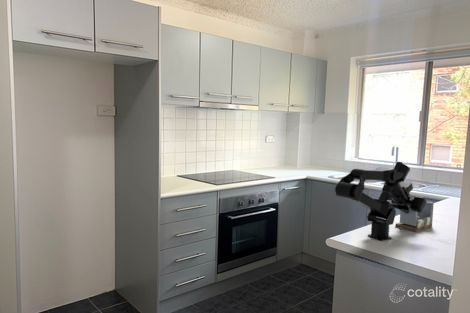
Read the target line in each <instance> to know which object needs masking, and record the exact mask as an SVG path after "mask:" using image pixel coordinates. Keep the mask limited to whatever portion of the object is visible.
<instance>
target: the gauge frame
mask: <svg viewBox="0 0 470 313" xmlns="http://www.w3.org/2000/svg"><path fill="white" fill-rule="evenodd" d="M432 227H433V223H432V224H430V217H427V218H424V220H422V219H420V220H418V225H417V226H412V225H408V224H404V223H400V221H399V222H396V223H395V228H397V229H398V228H399V229H403V230H407V231H410V232H414V233H417V232H420V231H423V230H425V229H430V228H432Z"/></svg>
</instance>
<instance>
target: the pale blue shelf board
mask: <svg viewBox="0 0 470 313" xmlns="http://www.w3.org/2000/svg"><path fill="white" fill-rule="evenodd" d="M399 211H400V210H399ZM399 215H400V216H399V222H400V223H404V224H408V225H412V226H417V225H418V220H419V219H422V220H424V218H420V217H417V212H416V211H413V210H411V209H410V208H409V213H405V212H403V211H400V213H399Z"/></svg>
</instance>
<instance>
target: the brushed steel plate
mask: <svg viewBox="0 0 470 313" xmlns="http://www.w3.org/2000/svg"><path fill="white" fill-rule="evenodd" d="M426 201H427V200H426ZM433 216H434V202H433V201H427V202H426V204H425V206H424V208H423V210H422V212H417V217H420V218H427V217H430V224H432V225H433V218H434V217H433ZM419 220H420V219H419Z"/></svg>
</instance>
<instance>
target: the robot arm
mask: <svg viewBox="0 0 470 313" xmlns="http://www.w3.org/2000/svg"><path fill="white" fill-rule="evenodd" d="M410 170H411V169H410V167H409V166H408V165H407V164H404V163H403V161H397V162H396V163H395V166H394V167H393V168H390V167H389V168H388V167H377V168H375V169H361V168H354V169H352V170H351V171H350V172H349V173H348V174H347V175H345V176H343V177H341V178H340V180H339V182H338V183H337V184H336V186H335V188H334V191H335V196H336V197H339V198H342V199H346V200H351V201H353V202H355V203H357V204H359V205H360V206H362V207H364V208H366V209H367V210H370V211H369V213H368V215H367V216H366V219H367V221H368V222H371V227H370V228H371V229H370V230H371V232H370V234H367V236H368V237H370V238H372V239H376V240H378V241H385V240H391V239H392V236H389V235H390V226H392V225H394V222H395V218H396V215H397V214H396V212H397V211H396V210H399V211H403V212H405V213H409V208H410V209H411V210H413V211H416V212H422V210H423V208H424V206H425V204H426V202H427V200H426V198H425V197H423V196H419V195H418V196H417V195H416V196H415V195H414V197H413V198H412V197H411V196H410V195H411V194H410V193H411V191H413V190H414V185H413V182H412V181H407V180H405V179H406V178H407V176H408V175H409V173H410ZM355 180H356V181H358V183H357V184H356V183H353V182H354V181H355ZM366 181H377V182H381V183H383V187H382V189H381V192H380V195H379V197H378V198H373V197H371V196H369V195H367V194H366V193H364V192H363V191H364V190H365V183H366ZM390 201H391V202H390Z"/></svg>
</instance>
